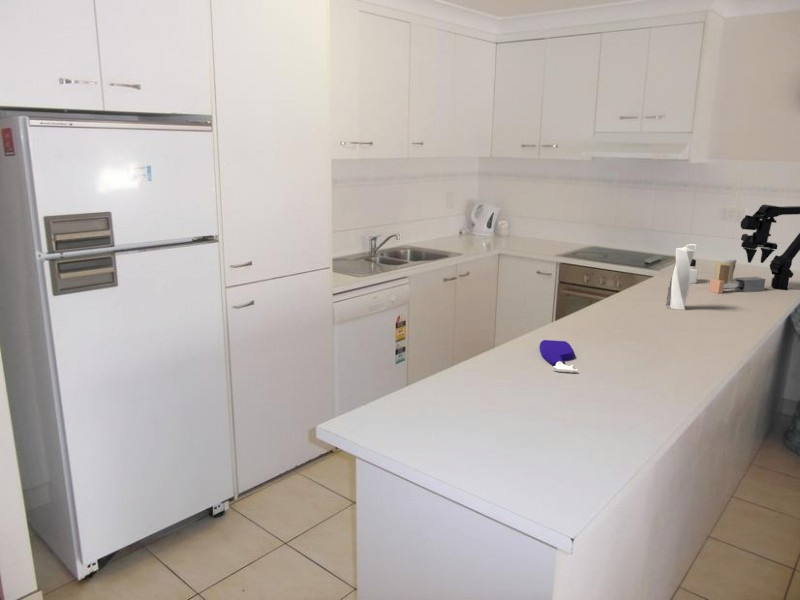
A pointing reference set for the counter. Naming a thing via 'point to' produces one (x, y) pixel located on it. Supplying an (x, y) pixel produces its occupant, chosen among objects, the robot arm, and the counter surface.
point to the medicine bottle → (693, 272)
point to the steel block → (752, 284)
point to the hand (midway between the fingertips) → (755, 262)
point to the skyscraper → (680, 279)
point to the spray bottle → (557, 354)
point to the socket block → (716, 286)
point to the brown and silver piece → (724, 277)
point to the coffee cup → (725, 261)
